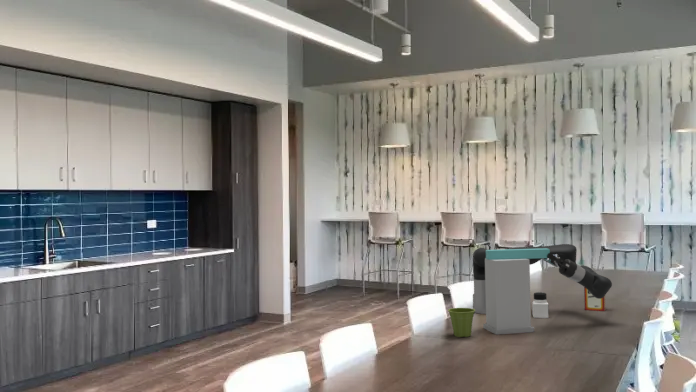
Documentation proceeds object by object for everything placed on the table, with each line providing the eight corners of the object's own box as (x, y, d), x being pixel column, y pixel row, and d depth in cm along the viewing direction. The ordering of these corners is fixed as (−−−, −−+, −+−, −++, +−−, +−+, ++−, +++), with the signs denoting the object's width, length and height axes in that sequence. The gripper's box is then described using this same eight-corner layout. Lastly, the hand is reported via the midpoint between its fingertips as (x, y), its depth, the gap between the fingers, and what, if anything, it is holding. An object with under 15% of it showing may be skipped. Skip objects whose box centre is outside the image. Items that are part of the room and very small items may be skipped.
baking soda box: (605, 308, 329) (604, 278, 329) (604, 311, 323) (603, 279, 323) (586, 307, 333) (585, 277, 333) (584, 310, 327) (584, 279, 327)
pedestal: (520, 325, 293) (518, 256, 293) (534, 331, 279) (532, 259, 279) (483, 327, 290) (481, 258, 290) (495, 334, 276) (494, 261, 276)
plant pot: (477, 333, 279) (477, 307, 279) (473, 339, 268) (473, 312, 268) (450, 332, 283) (450, 306, 283) (446, 337, 272) (445, 311, 272)
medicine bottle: (548, 318, 309) (548, 293, 309) (533, 318, 310) (533, 293, 310) (547, 315, 316) (546, 291, 316) (532, 315, 317) (531, 291, 317)
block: (546, 257, 288) (546, 248, 288) (549, 258, 284) (549, 249, 284) (485, 258, 287) (485, 250, 287) (488, 259, 283) (487, 250, 283)
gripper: (567, 262, 297) (539, 245, 295) (584, 265, 283) (554, 248, 281) (560, 276, 297) (532, 259, 294) (576, 280, 283) (547, 263, 280)
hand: (543, 254), depth 288 cm, fingers open, 8 cm apart
